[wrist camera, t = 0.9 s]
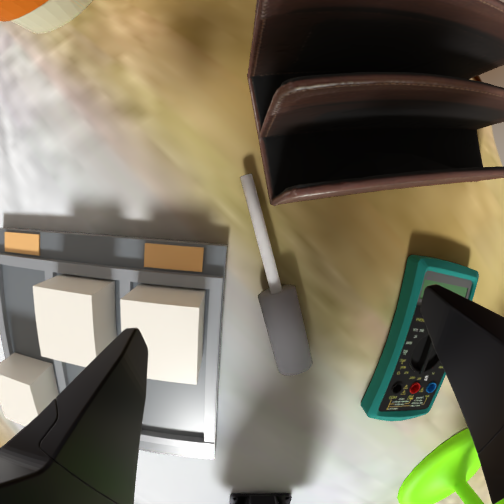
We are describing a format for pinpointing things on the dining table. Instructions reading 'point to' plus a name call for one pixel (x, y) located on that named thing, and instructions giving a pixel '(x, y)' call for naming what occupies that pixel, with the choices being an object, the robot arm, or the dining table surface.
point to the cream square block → (26, 387)
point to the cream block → (75, 317)
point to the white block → (168, 329)
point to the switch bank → (126, 278)
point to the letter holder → (373, 93)
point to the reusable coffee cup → (41, 13)
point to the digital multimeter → (414, 344)
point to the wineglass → (444, 473)
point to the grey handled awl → (278, 299)
